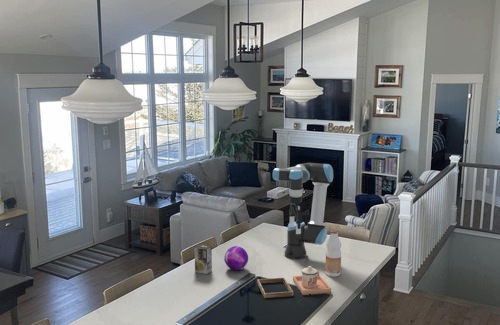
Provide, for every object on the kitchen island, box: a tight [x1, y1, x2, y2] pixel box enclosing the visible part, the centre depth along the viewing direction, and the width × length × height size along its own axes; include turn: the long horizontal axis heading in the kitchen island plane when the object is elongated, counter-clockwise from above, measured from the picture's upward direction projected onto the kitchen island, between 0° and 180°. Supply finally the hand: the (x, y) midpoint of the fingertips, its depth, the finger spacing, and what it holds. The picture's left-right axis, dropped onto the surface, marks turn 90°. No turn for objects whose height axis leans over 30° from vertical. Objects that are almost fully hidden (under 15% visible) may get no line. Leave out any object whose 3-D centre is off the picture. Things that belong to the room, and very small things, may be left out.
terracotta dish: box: [292, 274, 332, 296], centre depth 293 cm, size 21×17×3 cm
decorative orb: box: [224, 245, 249, 271], centre depth 318 cm, size 15×15×15 cm
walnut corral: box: [256, 277, 294, 299], centre depth 289 cm, size 21×17×2 cm
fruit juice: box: [324, 229, 342, 277], centre depth 310 cm, size 9×9×28 cm
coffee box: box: [193, 244, 213, 275], centre depth 314 cm, size 9×6×16 cm
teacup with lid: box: [301, 265, 320, 288], centre depth 293 cm, size 12×9×12 cm
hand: (295, 230), depth 300 cm, fingers open, 13 cm apart
